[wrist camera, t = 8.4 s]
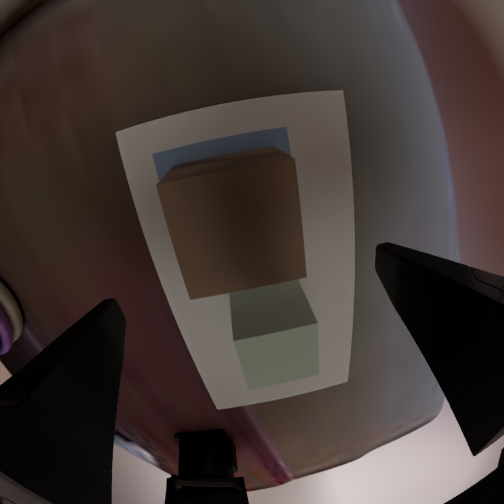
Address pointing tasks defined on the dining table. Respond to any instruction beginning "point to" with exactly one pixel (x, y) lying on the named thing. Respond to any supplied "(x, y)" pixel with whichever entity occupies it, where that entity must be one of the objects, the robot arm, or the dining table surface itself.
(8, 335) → the stacking toy
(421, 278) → the robot arm
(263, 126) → the build board
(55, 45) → the dining table surface
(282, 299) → the sage block
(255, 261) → the walnut block
